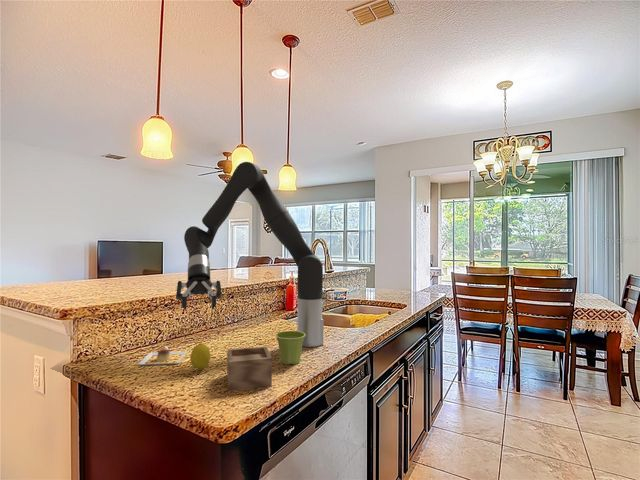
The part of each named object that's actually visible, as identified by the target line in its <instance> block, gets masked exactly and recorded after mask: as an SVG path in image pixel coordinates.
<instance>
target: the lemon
mask: <svg viewBox="0 0 640 480" xmlns="http://www.w3.org/2000/svg"><path fill="white" fill-rule="evenodd" d="M210 362H211V351H210V348H209V347H208V345H207V344H204V343H203V342H200V343H198V344H197V345H195V346H194V347H193V348H192V351H191V353H190V363H191V365H192V367H193V368H195V369H197V370H198V371H200V372H201V371H203V369H204V368H206V367H208V365H209V364H210Z"/></svg>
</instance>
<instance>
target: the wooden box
mask: <svg viewBox="0 0 640 480" xmlns="http://www.w3.org/2000/svg"><path fill="white" fill-rule="evenodd" d="M226 357H227V361H226V362H227V366H226V369H227V371H226V377H227V390H228V391H229V392H230V391H239V390H249V389H258V388H266V387H272V383H273V382H272V381H273V376H272V375H273V358H272V355H271V353H270V351H269V349H268V347H267V346H258V347H257V346H255V347H242V348H241V347H240V348H231V349H230V348H229V349H227V356H226Z"/></svg>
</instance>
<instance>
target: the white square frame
mask: <svg viewBox="0 0 640 480" xmlns="http://www.w3.org/2000/svg"><path fill="white" fill-rule="evenodd" d="M187 352H188V351H186V350H185V351H184V350H182V351H170V350H169V347H167V346H166V345H164V346H163V347H162V348H161V349H160V350H158V352H157V351H155V352H154V351H153V352H149V353H147V355H146V356H144V357H143V358H142V359H141V360H140V361H139V362H137V366H158V365H161V366H163V365H177V364H180V362H181V361H182V359H183V358H184V357H185V355H186V354H187ZM171 355H180V356H179V358H178V360H176V362H167V360H168V361H170V360H172V356H171ZM181 355H182V356H181ZM152 356H156V359H155V361H156V362H157V363H156V362H154V363H147V361H149V360H150V359H151V357H152ZM158 362H159V363H158Z"/></svg>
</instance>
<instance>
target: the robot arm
mask: <svg viewBox="0 0 640 480" xmlns="http://www.w3.org/2000/svg"><path fill="white" fill-rule="evenodd" d="M246 190H248V191H249V192H250V193H251V195H252V196H253V197H254V198H255V200H256V202H257V204H258V206H259V209H260V211H261V214H262V217H263V219H264V221H265V223H266V225H267V226H268V228H269V229H270V230H271V232H272V234H273V235H274V236H275V238H276V239H277V240H278V241H279V242H280V244H282V246H283V247H284V248H285V249H286V250H287V252H289V254H290V256H291V257H292V259H293V261H294V263H295V265H296V267H297V324H296V325H297V326H296V327H297V330H296V331H298V332H303V333H305V337H304V340H303V343H302V348H303V347H304V348H305V347H306V348H316V347H319V346H323V345H324V326H325V325H324V321H325V319H324V318H323V286H324V285H323V281H324V278H323V277H324V266H323V263H322V261H321V260H320V258H319V257H318V256H316V254H315V253H314V252H313V251H312V249H311V248H310V247H309V245H308V244H307V243H306V241H305V240H304V238H303V236H302V234H301V231H300V229H299V227H298V226H297V223H296V222H295V220H294V218H293V217H292V215H291V214H290V212H289V211H288V210H287V208H286V206H285V205H284V204H283V202H282V201H281V200H280V199H279V197H278V196H277V195H276V193H275V192H274V191H273V189H272V187H271V186H270V184H269V181H268V180H267V178H266V176H265V174H264V172H263V171H262V169H261V168H260V167H259V166H258V165H256V164H254V163H252V162H250V161H243V162H241V163H239V164H238V165H237V166H236V168H235V169H234V171H233V173H232V175H231V177H230V179H229V180H228V183H227V184H226V186H225V187H224V189H223V190H222V192H221V193H220V195H219V196H218V197H217V200H215V202H214V203H213V205H211V207H210V208H209V209H208V210H207V212H206V213H205V214H204V216H203V218H202V219H201V222H202V224H203V225H204V226H205V227H206V228H207V231H205V230H204V229H202V228H199V226H189V227H188V228H187V229H186V230H185V232H184V235H183V237H184V244H185V247H186V250H187V252H188V263H187V281H186V282H182V281H181V280H178V281H177V287H176V292H175V293H176V294H175V296H176V297H175V298H176V300H181V309H184V311H187V304H188V301H187V300H188V299H189V298H190V297H191V296H192V295H194V296H196V295H206V296H207V297H209V298H210V299H211V303H210V304H211V310H214V309H215V308H216V307H217V299H221V298H222V285H221V281H220V280H216V281H213V282H212V279H211V263H210V252H209V248H210V247H211V246H212V245H213V242H214V239H215V237H216V235H217V233H218V230H219V228H220V227H221V226H222V224H223V223H224V222H225V221H226V220H227V218H228V217H229V215H230V214H231V212H232V209H233V208H234V206H235V204H236V202H237V200H238V199H239V198H240V196H241V195H242V194H243V193H244V192H245V191H246ZM212 287H213V288H214V289H215V291H216V292H215V291H214V290H213V288H212ZM184 288H186V290H185V291H184V292H183V293H182V290H183V289H184Z"/></svg>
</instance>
